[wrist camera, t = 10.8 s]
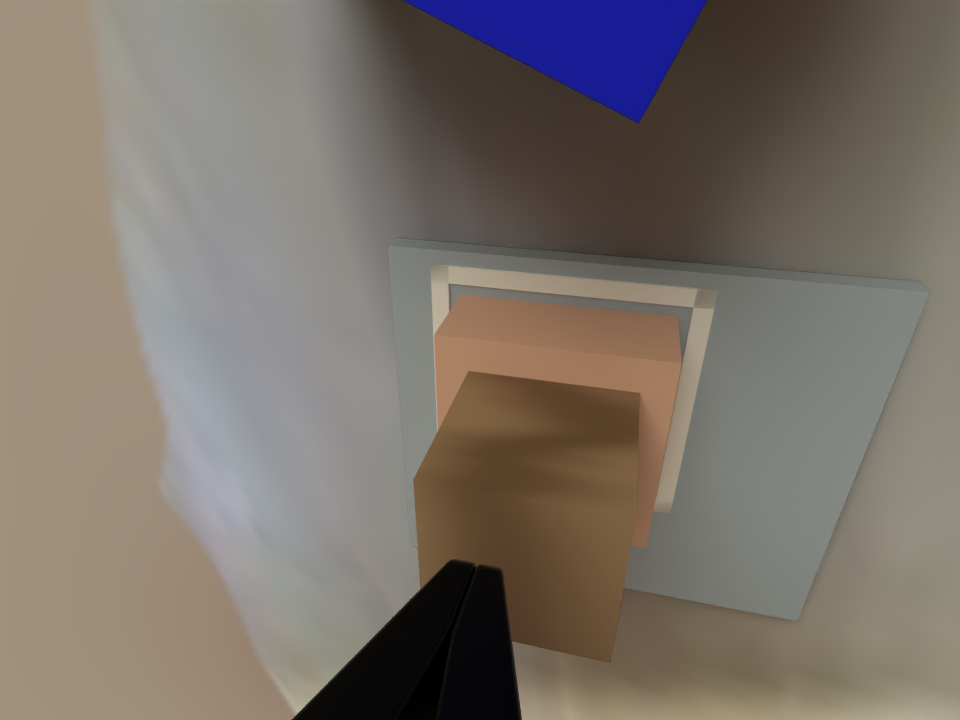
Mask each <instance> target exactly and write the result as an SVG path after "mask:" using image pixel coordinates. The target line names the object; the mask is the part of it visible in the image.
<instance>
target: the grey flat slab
mask: <svg viewBox="0 0 960 720" xmlns="http://www.w3.org/2000/svg"><path fill="white" fill-rule="evenodd" d="M388 258H389V271H390V284H391V297H392V310H393V323H394V335H395V348H396V361H397V374H398V387H399V400H400V413H401V426H402V439H403V452H404V465H405V477H406V490H407V503H408V516H409V529H410V542H411V547H415V548H418V544H417V529H416V515H415V500H414V486H413V479H414V477H415V475H416V473H417V471H418V469H419V467H420V465H421V463H422V461H423V459H424V457H425V455H426V453H427V451H428V449H429V447H430V445H431V444H432V442H433V440H434V438H435V436H436V434H437V432H438V422H437V398H436V373H435V349H434V334H435V332H436V331H437V329H438V328H439V326H440V325H441V324H442V322H443V321H444V319H445V318H446V316H447V315H448V313H449V312H450V310H451V309H452V307H453V306H454V304H455V303H456V301H457V300H458V298H459V297H460V295H470V296H480V297H489V298H499V299H509V300H519V301H529V302H539V303H549V304H558V305H568V306H578V307H588V308H598V309H608V310H618V311H627V312H637V313H647V314H657V315H667V316H677V317H678V326H679V337H680V348H681V359H682V366H681V371H680V376H679V381H678V386H677V391H676V396H675V402H674V407H673V412H672V417H671V422H670V427H669V432H668V437H667V443H666V448H665V453H664V458H663V463H662V468H661V473H660V479H659V484H658V489H657V494H656V499H655V504H654V509H653V514H652V520H651V525H650V530H649V535H648V540H647V545H646V548H642V547H636V546H631V551H630V556H629V562H628V568H627V573H626V579H625V584H624V588H627V589H632V590H638V591H643V592H648V593H653V594H658V595H663V596H669V597H674V598H679V599H684V600H689V601H694V602H700V603H705V604H710V605H715V606H720V607H725V608H731V609H736V610H741V611H746V612H751V613H756V614H762V615H767V616H772V617H777V618H782V619H787V620H793V621H797V620H798V618H799V615H800V613H801V610H802V608H803V606H804V603H805V601H806V598H807V596H808V593H809V591H810V588H811V586H812V583H813V581H814V578H815V576H816V573H817V571H818V568H819V566H820V563H821V561H822V559H823V556H824V554H825V551H826V549H827V546H828V544H829V541H830V539H831V536H832V534H833V531H834V529H835V526H836V524H837V521H838V519H839V517H840V514H841V512H842V509H843V507H844V504H845V502H846V499H847V497H848V494H849V492H850V489H851V487H852V484H853V482H854V479H855V477H856V475H857V472H858V470H859V467H860V465H861V462H862V460H863V457H864V455H865V452H866V450H867V447H868V445H869V442H870V440H871V437H872V435H873V432H874V430H875V428H876V425H877V423H878V420H879V418H880V415H881V413H882V410H883V408H884V405H885V403H886V400H887V398H888V395H889V393H890V390H891V388H892V386H893V383H894V381H895V378H896V376H897V373H898V371H899V368H900V366H901V363H902V361H903V358H904V356H905V353H906V351H907V348H908V346H909V344H910V341H911V339H912V336H913V334H914V331H915V329H916V326H917V324H918V321H919V319H920V316H921V314H922V311H923V309H924V306H925V304H926V301H927V299H928V297H929V294H930V292H929V291H928V290H927V289H926V288H925V287H924V286H923V285H922V284H921V283H920V282H918V281H906V280H894V279H882V278H870V277H858V276H846V275H834V274H822V273H810V272H798V271H786V270H774V269H762V268H750V267H738V266H726V265H714V264H702V263H690V262H678V261H666V260H654V259H642V258H630V257H618V256H606V255H594V254H582V253H570V252H558V251H546V250H534V249H522V248H510V247H498V246H486V245H474V244H462V243H450V242H438V241H426V240H414V239H402V238H396V239H394V240H393V241H392V242H391V243H390V244H389V245H388Z"/></svg>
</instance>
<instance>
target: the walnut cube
mask: <svg viewBox="0 0 960 720" xmlns="http://www.w3.org/2000/svg"><path fill="white" fill-rule="evenodd" d="M639 408H640V393H637V392H629V391H621V390H613V389H606V388H598V387H590V386H582V385H574V384H567V383H559V382H551V381H543V380H535V379H528V378H520V377H512V376H504V375H496V374H489V373H481V372H473V371H468V373H467V375H466V377H465V379H464V381H463V383H462V385H461V386H460V388H459V390H458V392H457V394H456V396H455V398H454V400H453V402H452V404H451V406H450V408H449V410H448V412H447V414H446V416H445V418H444V420H443V422H442V424H441V426H440V428H439V430H438V432H437V434H436V436H435V438H434V440H433V442H432V444H431V445H430V447H429V449H428V451H427V453H426V455H425V457H424V459H423V461H422V463H421V465H420V467H419V469H418V471H417V473H416V475H415V477H414V479H413V486H414V500H415V515H416V529H417V544H418V558H419V573H420V587H421V588H422V587H423V586H424V585H425V584H426V583H427V582H428V581H429V580H430V579H431V578H432V577H433V576H434V575H435V574H436V573H437V572H438V571H439V570H440V569H441V568H442V567H443V566H444V565H445V564H446V563H447V562H448V561H449V560H452V559H458V560H464V561H469V562H473V563H474V564H475V565H476V567H477V566H478V565H479V564H484V565H489V566H494V567H499V568H501V569H502V571H503V575H504V582H505V590H506V598H507V606H508V614H509V622H510V630H511V638H512V641H513V642H518V643H523V644H527V645H532V646H536V647H541V648H545V649H550V650H554V651H559V652H564V653H568V654H573V655H577V656H582V657H586V658H591V659H595V660H600V661H604V662H609V663H611V657H612V652H613V646H614V641H615V635H616V629H617V624H618V618H619V612H620V607H621V601H622V596H623V590H624V584H625V579H626V573H627V568H628V562H629V556H630V551H631V545H632V539H633V534H634V528H635V523H636V514H637V478H638V443H639Z"/></svg>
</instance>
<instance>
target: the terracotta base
mask: <svg viewBox="0 0 960 720" xmlns="http://www.w3.org/2000/svg"><path fill="white" fill-rule="evenodd" d="M434 349H435V373H436V398H437V422H438V430H439V428H440V426H441V424H442V422H443V420H444V418H445V416H446V414H447V412H448V410H449V408H450V406H451V404H452V402H453V400H454V398H455V396H456V394H457V392H458V390H459V388H460V386H461V385H462V383H463V381H464V379H465V377H466V375H467V373H468V371H473V372H481V373H489V374H496V375H504V376H512V377H520V378H528V379H535V380H543V381H551V382H559V383H567V384H574V385H582V386H590V387H598V388H606V389H613V390H621V391H629V392H637V393H640V408H639V443H638V478H637V514H636V523H635V528H634V534H633V539H632V545H631V546H636V547H642V548H646V545H647V540H648V535H649V530H650V525H651V520H652V514H653V509H654V504H655V499H656V494H657V489H658V484H659V479H660V473H661V468H662V463H663V458H664V453H665V448H666V443H667V437H668V432H669V427H670V422H671V417H672V412H673V407H674V402H675V396H676V391H677V386H678V381H679V376H680V371H681V366H682V359H681V348H680V337H679V326H678V317H677V316H667V315H657V314H647V313H637V312H627V311H618V310H608V309H598V308H588V307H578V306H568V305H558V304H549V303H539V302H529V301H519V300H509V299H499V298H489V297H480V296H470V295H460V297H459V298H458V300H457V301H456V303H455V304H454V306H453V307H452V309H451V310H450V312H449V313H448V315H447V316H446V318H445V319H444V321H443V322H442V324H441V325H440V326H439V328H438V329H437V331H436V332H435V334H434Z"/></svg>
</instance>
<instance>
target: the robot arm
mask: <svg viewBox="0 0 960 720" xmlns="http://www.w3.org/2000/svg"><path fill="white" fill-rule="evenodd" d="M292 720H522V717H521V709H520V701H519V693H518V685H517V678H516V670H515V662H514V654H513V646H512V638H511V630H510V622H509V614H508V606H507V598H506V590H505V582H504V575H503V571H502V569H501V568H499V567H494V566H489V565H484V564H479V565H478V566H477V567H476V565H475V564H474V563H473V562H469V561H464V560H458V559H452V560H449V561H448V562H447V563H446V564H445V565H444V566H443V567H442V568H441V569H440V570H439V571H438V572H437V573H436V574H435V575H434V576H433V577H432V578H431V579H430V580H429V581H428V582H427V583H426V584H425V585H424V586H423V587H422V588H421V589H420V590H419V591H418V592H417V593H416V594H415V595H414V596H413V597H412V598H411V599H410V600H409V601H408V602H407V603H406V604H405V605H404V607H403V608H402V609H401V610H400V611H399V612H398V613H397V614H396V615H395V616H394V617H393V618H392V619H391V620H390V621H389V622H388V623H387V624H386V625H385V626H384V627H383V628H382V629H381V630H380V631H379V632H378V633H377V634H376V635H375V636H374V637H373V638H372V639H371V640H370V641H369V642H368V643H367V644H366V645H365V646H364V647H363V648H362V649H361V650H360V651H359V652H358V653H357V654H356V655H355V656H354V657H353V658H352V659H351V660H350V661H349V662H348V663H347V664H346V665H345V666H344V667H343V668H342V669H341V670H340V671H339V672H338V673H337V674H336V675H335V676H334V677H333V678H332V679H331V680H330V681H329V682H328V684H327V685H326V686H325V687H324V688H323V689H322V690H321V691H320V692H319V693H318V694H317V695H316V696H315V697H314V698H313V699H312V700H311V701H310V702H309V703H308V704H307V705H306V706H305V707H304V708H303V709H302V710H301V711H300V712H299V713H298V714H297V715H296V716H295V717H294V718H293V719H292Z"/></svg>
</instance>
